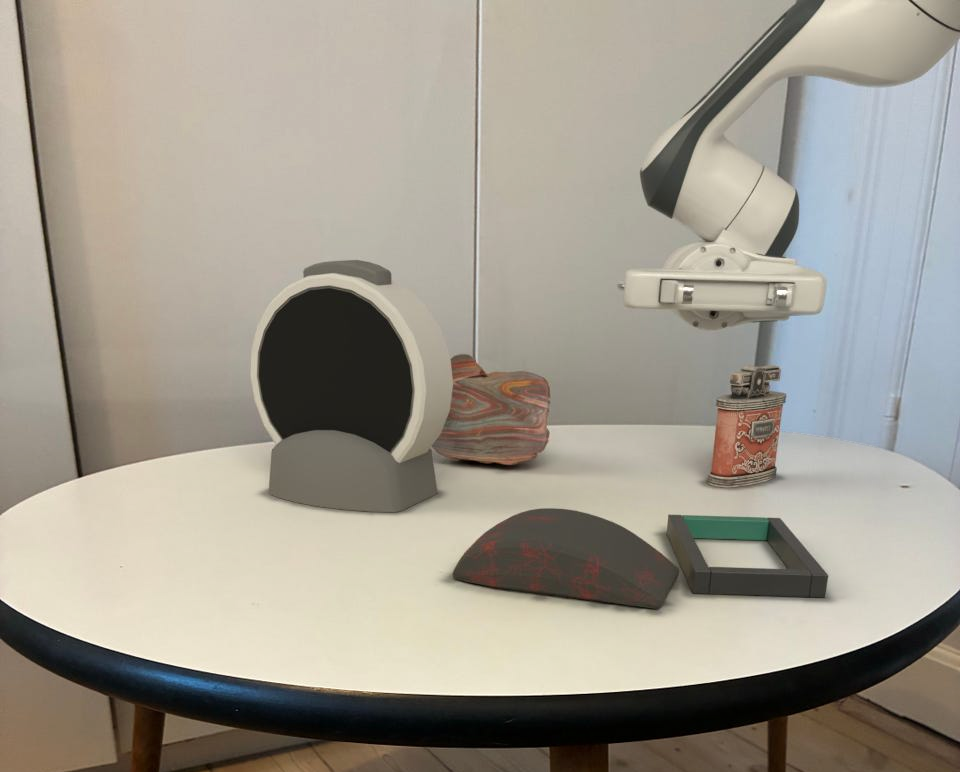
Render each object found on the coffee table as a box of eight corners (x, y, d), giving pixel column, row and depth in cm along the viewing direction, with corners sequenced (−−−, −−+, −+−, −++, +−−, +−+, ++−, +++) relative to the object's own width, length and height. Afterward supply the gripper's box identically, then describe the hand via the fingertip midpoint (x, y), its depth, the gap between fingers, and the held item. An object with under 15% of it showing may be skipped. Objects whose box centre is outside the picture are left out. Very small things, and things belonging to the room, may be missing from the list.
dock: (777, 537, 76) (780, 517, 75) (825, 597, 64) (828, 575, 63) (666, 533, 76) (668, 514, 75) (692, 593, 64) (694, 570, 63)
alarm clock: (236, 494, 84) (219, 258, 77) (306, 470, 93) (296, 255, 86) (409, 520, 78) (407, 266, 71) (466, 491, 87) (470, 262, 80)
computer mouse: (485, 551, 71) (486, 494, 70) (681, 575, 67) (687, 516, 66) (443, 586, 64) (443, 524, 63) (659, 616, 60) (665, 550, 58)
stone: (413, 463, 96) (412, 354, 92) (443, 447, 104) (443, 344, 100) (543, 475, 93) (548, 362, 89) (564, 457, 100) (570, 351, 96)
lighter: (729, 489, 89) (742, 372, 85) (698, 481, 92) (710, 367, 88) (784, 477, 94) (799, 365, 90) (754, 470, 96) (767, 361, 92)
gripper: (617, 253, 110) (628, 258, 97) (809, 258, 110) (845, 264, 97) (613, 314, 113) (623, 326, 100) (800, 319, 112) (835, 333, 99)
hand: (734, 296), depth 98 cm, fingers open, 8 cm apart
